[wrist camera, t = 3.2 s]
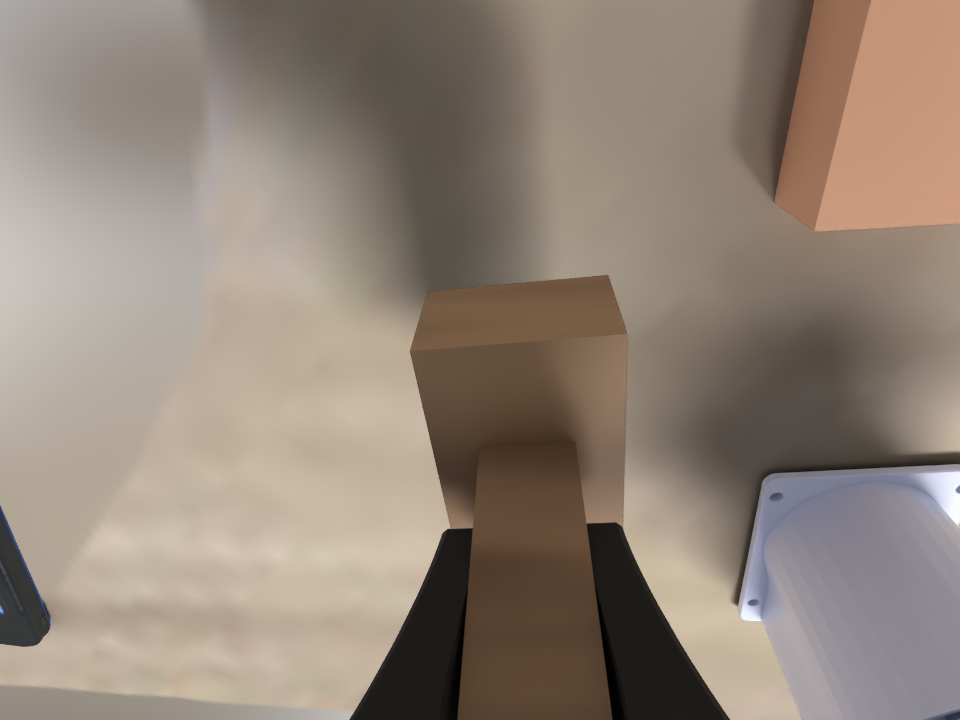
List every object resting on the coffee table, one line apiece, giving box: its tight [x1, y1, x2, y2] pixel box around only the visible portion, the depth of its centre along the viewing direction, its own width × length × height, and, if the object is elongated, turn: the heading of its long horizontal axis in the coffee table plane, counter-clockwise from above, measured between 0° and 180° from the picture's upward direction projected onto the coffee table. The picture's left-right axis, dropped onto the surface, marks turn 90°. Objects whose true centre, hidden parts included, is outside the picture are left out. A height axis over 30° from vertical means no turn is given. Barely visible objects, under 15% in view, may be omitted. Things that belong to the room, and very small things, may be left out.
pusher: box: [410, 275, 627, 720], centre depth 11 cm, size 8×4×8 cm, turn 7°
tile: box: [774, 0, 960, 232], centre depth 14 cm, size 6×6×3 cm
